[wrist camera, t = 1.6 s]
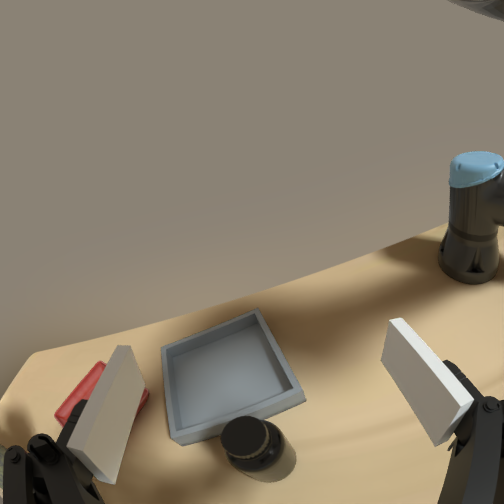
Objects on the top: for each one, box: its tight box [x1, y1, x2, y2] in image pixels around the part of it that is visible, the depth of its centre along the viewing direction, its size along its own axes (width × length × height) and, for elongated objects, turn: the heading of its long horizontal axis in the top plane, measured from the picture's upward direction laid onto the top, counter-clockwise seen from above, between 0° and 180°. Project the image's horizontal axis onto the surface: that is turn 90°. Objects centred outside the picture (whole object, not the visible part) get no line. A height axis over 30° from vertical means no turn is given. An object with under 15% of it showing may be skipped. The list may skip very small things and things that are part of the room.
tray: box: [161, 308, 306, 446], centre depth 42 cm, size 20×20×4 cm
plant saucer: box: [54, 361, 149, 427], centre depth 40 cm, size 18×18×3 cm
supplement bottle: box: [221, 416, 296, 483], centre depth 26 cm, size 7×7×12 cm
